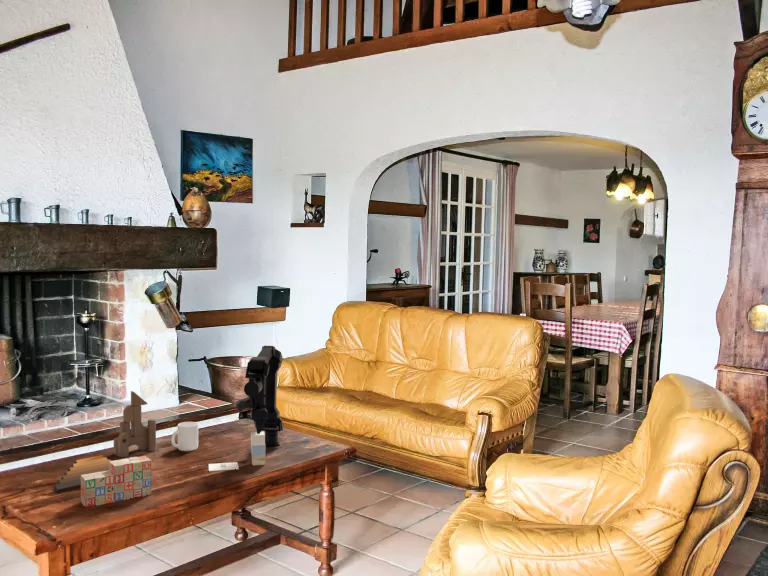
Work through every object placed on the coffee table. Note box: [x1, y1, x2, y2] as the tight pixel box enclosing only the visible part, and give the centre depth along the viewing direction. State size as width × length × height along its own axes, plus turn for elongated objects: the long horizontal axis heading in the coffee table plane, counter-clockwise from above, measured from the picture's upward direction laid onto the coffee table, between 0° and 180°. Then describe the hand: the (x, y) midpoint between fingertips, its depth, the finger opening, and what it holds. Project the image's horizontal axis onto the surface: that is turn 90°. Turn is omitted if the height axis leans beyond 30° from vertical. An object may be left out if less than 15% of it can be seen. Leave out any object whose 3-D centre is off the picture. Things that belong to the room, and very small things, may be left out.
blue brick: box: [250, 444, 267, 457], centre depth 268 cm, size 5×5×4 cm
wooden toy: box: [113, 390, 157, 458], centre depth 278 cm, size 16×7×25 cm, turn 133°
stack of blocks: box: [80, 455, 153, 508], centre depth 229 cm, size 21×6×12 cm, turn 126°
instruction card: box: [208, 461, 240, 472], centre depth 263 cm, size 8×11×1 cm
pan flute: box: [53, 454, 112, 495], centre depth 250 cm, size 25×3×25 cm
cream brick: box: [250, 431, 265, 446], centre depth 268 cm, size 5×5×4 cm
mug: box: [170, 421, 199, 452], centre depth 284 cm, size 12×8×10 cm
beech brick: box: [251, 454, 266, 466], centre depth 268 cm, size 5×5×4 cm
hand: (257, 430), depth 268 cm, fingers open, 9 cm apart
